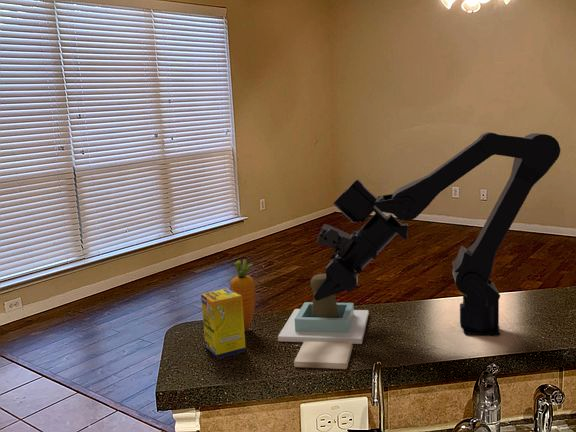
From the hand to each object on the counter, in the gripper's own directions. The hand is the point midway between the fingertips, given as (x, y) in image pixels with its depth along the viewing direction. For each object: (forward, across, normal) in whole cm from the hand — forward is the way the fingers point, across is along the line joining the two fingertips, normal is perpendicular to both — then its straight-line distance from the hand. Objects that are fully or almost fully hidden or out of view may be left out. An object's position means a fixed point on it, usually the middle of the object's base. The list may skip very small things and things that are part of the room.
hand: (317, 293), depth 115 cm
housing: (+4, 0, +6) cm, 7 cm away
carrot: (+16, +2, -5) cm, 17 cm away
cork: (+4, 0, +6) cm, 7 cm away
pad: (+3, +15, +7) cm, 17 cm away
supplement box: (+16, +12, -6) cm, 22 cm away
